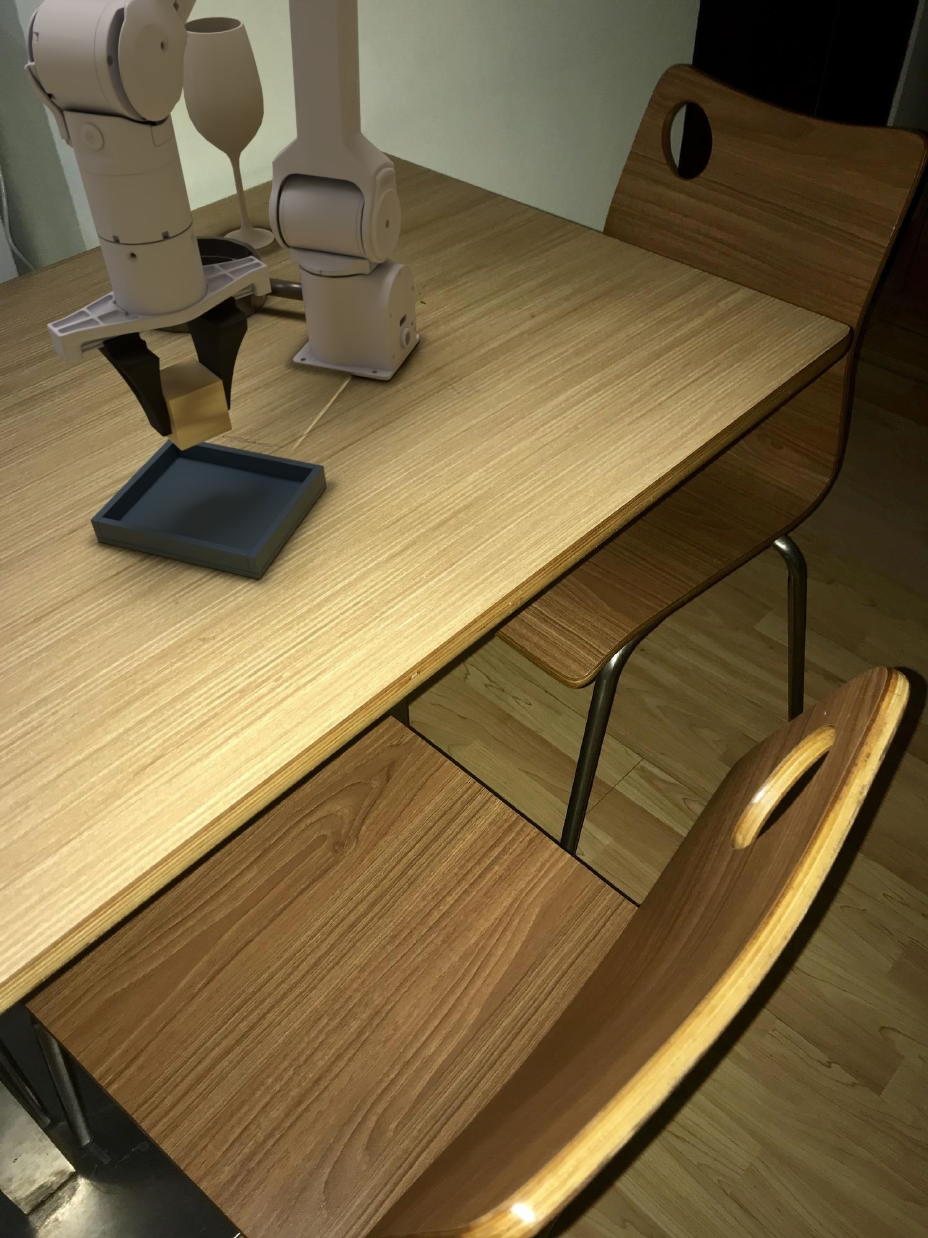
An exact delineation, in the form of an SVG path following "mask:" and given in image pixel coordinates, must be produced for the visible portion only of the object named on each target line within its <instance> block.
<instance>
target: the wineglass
mask: <svg viewBox="0 0 928 1238" xmlns="http://www.w3.org/2000/svg"><path fill="white" fill-rule="evenodd" d="M184 27H185V29H186V31H187V33H188V37H187V43H188V44H187V46H186V49H185V52H184V81H183V89H182V93H183V98H184V104H185V108H186V111H187V114H188V118H189V120H190V122H191V123H192V125H193V126H194V128H195V130H196V132H198V134H200V136H201V137H203V138H204V139H205V141H207V142H208V143H209V144H211V145H212V146H214V147H215V148H216V149H218V150H219V151H221V152H222V153H224V154H225V155H226V156H227V157H228V159H229V161H230V162H229V163H230V165H231V167H232V173H233V179H234V184H235V185H234V186H235V190H236V195H237V196H236V197H237V202H238V208H239V213H240V214H239V215H240V222H241V226H240V228H239V229H236V230H232V231H230V232H228V233H226V234H225V235H224V236H223V237H226V238H233V239H237V240H239V241H242V242H245V243H248V244H250V245H251V246H252V247H254V248H255V249H256V250H257V249H261V248H264V247H266V246H268V245H270V244H271V243H272V242H274V239H275V236H274V234H273V232H272V231H271V230H268V229H265V228H260V227H259V228H258V227H253V225H252V224H251V223H250V220H249V217H248V216H249V215H248V210H247V203H246V198H245V192H244V184H243V179H242V172H241V167H240V166H241V165H240V157H241V154H242V152H243V151H244V150H245V149H246V148H247V147H248V145H249V144H250V143H251V142H252V141H253V139H254V138H255V137H256V136H257V133H258V132H259V129H260V128H261V127H262V124H263V119H264V115H265V106H264V93H263V87H262V82H261V77H260V74H259V70H258V65H257V63H256V62H257V61H256V58H255V54H254V51H253V48H252V45H251V44H252V43H251V41H250V37H249V35H248V32H247V29H246V26H245V24H244V22H243V20H242V19H240V18H236V17H232V16H206V17H204V16H203V17H198V18H194V19H190V20H187V22H186V24H185V26H184Z"/></svg>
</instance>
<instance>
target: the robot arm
mask: <svg viewBox="0 0 928 1238" xmlns="http://www.w3.org/2000/svg"><path fill="white" fill-rule="evenodd" d="M196 3H197V0H44V1H42V2H41V4H40V6H38V7H37V8H36V9H35V10H34V12H33V13H32V15H31V17H30V19H29V21H28V25H27V29H26V35H25V36H26V37H25V38H26V39H25V46H26V55H27V56H26V57H27V64H25V65H24V68H23V69H24V72H25V75H26V78H27V80H28V83H29V84H30V87H31V89H32V90H33V92H34V94H35V95H36V97H38V99H39V100H40V101H41V102H42V104H44V106H45V107H47V108H48V110H49V111H50V112H51V114H52V115H53V117H54V120H55V122H56V126H57V129H58V132H59V136H60V139H61V140H64V141H65V144H66V145H67V146H69V147H70V148H72V149H73V154H74V156H75V160H76V164H77V168H78V170H79V174H80V179H81V182H82V185H83V188H84V192H85V196H86V199H87V203H88V206H89V210H90V214H91V217H92V218H91V219H92V221H93V224H94V225H93V226H94V228H95V231H96V235H97V239H98V242H99V245H100V249H101V252H102V256H103V260H104V264H105V268H106V270H107V275H108V278H109V282H110V285H111V288H112V291H110V292H108V293H107V294H105V295H103V296H101V297H99V298H98V299H96V300H94V301H93V302H90V303H89V304H87V305H85V306H84V307H82V308H80V309H78V310H76V311H75V312H73V313H71V314H69V315H67V316H65V317H63V318H60V319H57V320H55V321H53V322H50V323H47V324H46V327H47V330H48V333H49V337H50V340H51V342H52V346H53V348H54V351H55V353H56V355H58V356H59V357H60V358H61V359H62V360H63V361H64V362H65V363H67V364H68V365H71V364H74V363H77V362H80V361H82V360H83V359H84V358H85V357H84V354H86V353H89V352H91V351H94V350H98V352H100V353H101V354H102V355H103V357H104V358H105V359H106V360H107V361H108V362H109V363H110V365H112V367H113V368H114V369H115V371H117V373H118V374H119V375H120V377H121V378H122V379H123V381H124V382H125V383H126V384H127V386H128V388H129V389H130V390H131V392H132V394H133V395H134V396H135V398H136V400H137V402H138V403H139V404H140V406H141V408H142V410H143V412H144V414H145V416H146V418H147V421H148V422H149V425H150V427H151V428H153V430H155V432H156V433H158V435H160V436H161V437H164V438H166V436H168V435H170V434H172V430H171V423H170V417H169V413H168V410H167V407H166V404H165V401H164V397H163V392H162V385H161V378H160V370H161V368H160V367H161V362H160V361H161V358H160V357H159V356H158V355H157V354H156V353H154V351H152V350H151V349H149V348H148V345H147V340H145V339H143V338H142V337H141V334H142V333H145V332H149V331H151V330H158V329H157V328H163V327H169V326H174V325H178V324H182V323H185V322H186V323H187V326H188V328H189V331H190V332H189V334H190V338H191V340H192V342H193V346H194V349H195V352H196V356H197V361H199V362H200V363H201V364H202V365H204V366H205V367H206V368H207V369H209V370H210V371H211V372H212V373H214V374H215V375H216V376H217V377H219V378H220V379H221V380H222V383H223V388H224V393H225V398H226V402H227V407H228V412H229V411H231V406H232V405H231V404H232V403H231V401H232V388H233V387H232V386H233V378H234V371H235V366H236V362H237V357H238V354H239V351H240V348H241V346H242V343H243V340H244V338H245V335H246V334H247V332H248V330H249V327H248V326H249V325H248V323H249V322H248V317H246V314H245V313H244V312H243V311H242V310H240V309H239V308H237V306H236V299H239V298H241V297H244V296H247V295H250V294H253V293H254V294H255V295H256V296H262V295H265V294H267V293H270V292H271V286H270V280H269V278H270V274H269V268H268V264H266V263H264V262H263V261H262V262H261V261H259V260H258V259H256V258H255V257H253V256H250V257H246V258H243V259H239V260H235V261H230V262H225V263H218V264H212V265H206V266H202V262H201V257H200V253H199V248H198V243H197V238H196V236H197V234H196V229H195V224H194V219H193V215H192V210H191V204H190V200H189V196H188V190H187V186H186V181H185V176H184V171H183V166H182V162H181V157H180V153H179V147H178V143H177V138H176V133H175V128H174V123H173V119H172V114H171V113H172V112H173V110H174V109H175V107H176V105H177V104H178V103H179V101H180V100H181V97H182V93H183V81H184V52H185V49H186V46H187V44H188V43H187V37H188V33H187V31H186V29H185V27H184V26H185V24H186V22H187V21H189V18H190V16H191V13H192V11H193V9H194V6H195V5H196ZM358 6H359V5H358V0H288V11H289V12H288V13H289V26H290V27H289V28H290V29H289V30H290V43H291V45H290V46H291V60H292V61H291V62H292V75H293V94H294V107H295V124H296V125H295V127H296V137H295V138H294V139H293V140H292V141H291V142H290V143H288V144H287V145H286V146H285V147H283V148H282V149H281V150H280V151H279V152H278V154H276V155H275V157H274V158H273V159H272V162H271V163H272V164H271V166H272V167H271V168H272V169H271V170H272V178H271V179H272V180H271V182H272V183H271V190H270V191H271V192H270V196H269V201H268V220H269V226H270V229H271V233H273V235H274V239H275V240H276V242H277V243H278V245H279V246H280V247H281V248H282V249H286V250H288V255H289V262H291V263H295V264H298V271H299V278H300V283H301V286H302V294H303V301H302V302H303V307H304V315H305V322H306V328H307V329H306V330H307V336H308V341H307V342H306V343H305V344H304V345H303V347H302V348H301V349H300V350H299V351H298V352H297V353H296V354H295V355H294V357H293V358H292V362H293V363H296V364H301V365H306V366H313V367H318V368H323V369H329V370H335V371H341V372H348V373H350V375H351V376H358V377H364V378H370V379H374V380H375V379H376V380H381V381H389V380H391V379H392V378H393V376H394V375H395V373H396V372H397V371H398V370H399V368H400V367H401V365H402V364H403V363H404V361H405V360H406V359H407V357H408V356H409V354H410V353H411V352H412V351H413V349H414V348H415V346H417V344H418V343H419V341H420V334H418V333H417V319H416V299H415V284H414V283H415V282H414V277H413V273H412V270H411V268H410V267H409V266H408V265H406V264H403V263H400V262H396V261H394V260H393V259H391V258H389V257H390V256H391V255H392V254H393V253H394V252H395V249H396V248H397V245H398V242H399V238H400V234H401V227H402V206H401V205H402V204H401V201H400V198H399V195H398V188H397V180H396V171H395V164H394V162H393V161H392V160H391V159H390V158H389V156H387V155H386V154H385V153H384V152H383V151H381V150H380V149H379V148H378V147H377V146H376V145H375V144H374V143H373V142H371V141H370V140H369V139H368V138H367V137H366V136H365V135H364V133H362V127H361V125H362V124H361V123H362V122H361V121H362V120H361V119H362V117H361V86H360V85H361V82H360V80H361V79H360V46H359V45H360V44H359V42H360V41H359V8H358Z"/></svg>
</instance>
